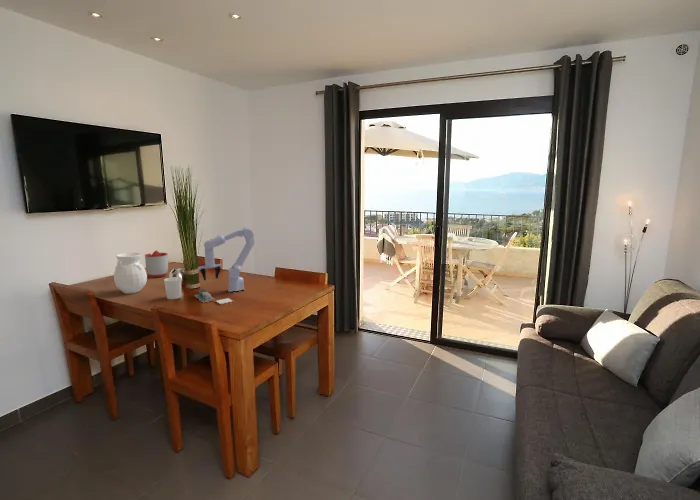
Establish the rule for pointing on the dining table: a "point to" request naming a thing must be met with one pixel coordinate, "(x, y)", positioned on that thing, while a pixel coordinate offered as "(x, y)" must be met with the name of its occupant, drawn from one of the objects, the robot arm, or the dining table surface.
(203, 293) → the two-tone grey bar
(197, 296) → the mat
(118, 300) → the dining table surface
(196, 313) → the dining table surface
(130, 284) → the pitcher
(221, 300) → the tile
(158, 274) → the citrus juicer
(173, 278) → the candle holder
